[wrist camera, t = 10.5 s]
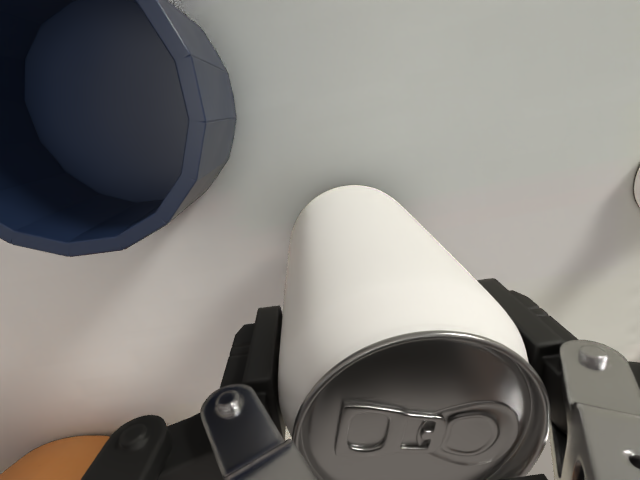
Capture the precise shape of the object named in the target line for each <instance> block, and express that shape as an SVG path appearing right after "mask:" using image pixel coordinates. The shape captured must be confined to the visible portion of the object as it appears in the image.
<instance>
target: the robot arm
mask: <svg viewBox="0 0 640 480" xmlns="http://www.w3.org/2000/svg"><path fill="white" fill-rule="evenodd" d="M477 281H478V282H479V283H480V284H481V285H482V286H483V287H484V288H485V289H486V290H487V292H488V293H489V294H490V295H491V296H492V297H493V298H494V299H495V300H496V301H497V302H498V303H499V304H500V306H501V307H502V308H503V309H504V310H505V311H506V313H507V314H508V315H509V317H510V318H511V319H512V321H513V322H514V324H515V325H516V327H517V329H518V331H519V333H520V335H521V337H522V340H523V343H524V346H525V349H526V352H527V357H528V362H529V364H530V365H531V366H532V367H533V368H534V370H535V371H536V372H537V374H538V375H539V377H540V378H541V380H542V382H543V384H544V386H545V388H546V391H547V393H548V397H549V401H550V407H551V424H550V430H549V438H550V446H551V455H552V463H553V471H554V480H640V363H639V362H628V361H627V360H626V358H625V357H624V356H623V355H622V354H620V353H619V352H618V351H616V350H614V349H613V348H611V347H608V346H606V345H604V344H601V343H597V342H594V341H588V340H578V339H577V338H576V337H575V336H573V335H572V334H571V333H570V332H569V331H567V330H566V329H565V328H564V327H563V326H562V325H560V324H559V323H558V322H557V321H556V320H554V319H553V318H552V317H551V316H548V314H547V313H546V312H545V311H544V310H543V309H541V308H539V306H538V305H537V304H536V303H534V302H533V301H532V300H531V299H530V298H528V297H526V296H524V295H522V294H520V293H518V292H515V291H513V290H512V291H509V290H507V289H506V288H505V287H504V286H503V285H502V284H501V283H500V282H498V281H497V280H496V279H494V278H492V279H484V280H477ZM281 327H282V311H281V307H280V306H272V307H264V308H258V311H257V316H256V321H255V323H254V324H246V325H244V326H243V327H242V328H241V329H240V330H239V331H238V332H237V334H236V335H235V338H234V341H233V345H232V348H231V351H230V357H229V358H228V362H227V365H226V369H225V372H224V375H223V379H222V382H221V386H220V389H218V390H216V391H215V392H213V393H212V394H211V395H210V396H209V397H208V398H207V399H206V400H205V402H204V403H203V405H202V408H201V412H200V413H198V414H197V415H195V416H193V417H190V418H188V419H186V420H183V421H180V422H178V423H175V424H173V425H170V426H166V423H165V421H164V420H163V419H162V418H161V417H159V416H155V415H147V416H142V417H138V418H136V419H133V420H131V421H129V422H127V423H126V424H124V425H123V426H121V427H120V428H119V429H117V430H116V431H115V432H114V433H113V434H112V435H111V436H110V438H109V439H108V440H107V441H106V443H105V444H104V446H103V447H102V449H101V450H100V452H99V453H98V455H97V456H96V458H95V459H94V461H93V462H92V464H91V465H90V466H89V468H88V469H87V471H86V472H85V474H84V475H83V477H82V478H81V480H318V479H317V478H316V476H315V475H314V473H313V472H312V470H311V468H310V467H309V465H308V464H307V462H306V460H305V459H304V457H303V456H302V454H301V453H300V451H299V449H298V448H297V446H296V445H295V444H294V442H293V441H292V440H291V439H288V440H286V441H285V429H286V424H285V422H284V419H283V416H282V413H281V409H280V405H279V398H278V365H279V351H280V339H281ZM499 480H548V479H547V478H546V476H545V475H544V474H538V475H530V476H523V477H515V478H507V479H499Z"/></svg>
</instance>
